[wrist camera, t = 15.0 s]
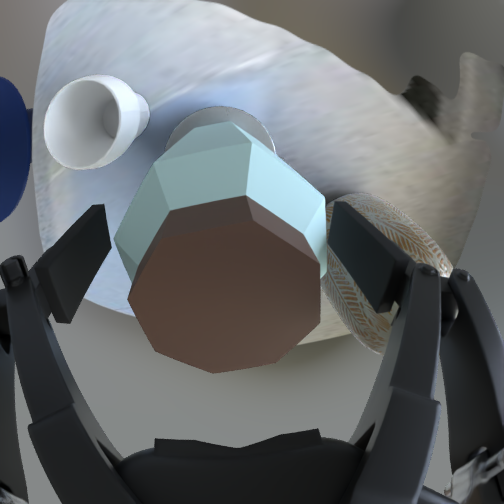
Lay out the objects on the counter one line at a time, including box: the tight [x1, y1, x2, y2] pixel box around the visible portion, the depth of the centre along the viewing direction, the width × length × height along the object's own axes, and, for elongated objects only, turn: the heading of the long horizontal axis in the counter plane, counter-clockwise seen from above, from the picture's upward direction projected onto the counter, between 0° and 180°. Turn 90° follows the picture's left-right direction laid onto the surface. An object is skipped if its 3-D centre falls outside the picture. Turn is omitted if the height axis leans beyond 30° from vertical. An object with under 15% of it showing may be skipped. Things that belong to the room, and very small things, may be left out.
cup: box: [43, 74, 150, 170], centre depth 27 cm, size 11×11×15 cm
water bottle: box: [114, 121, 327, 373], centre depth 20 cm, size 10×10×25 cm
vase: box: [320, 193, 453, 355], centre depth 36 cm, size 17×17×27 cm
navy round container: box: [164, 106, 275, 153], centre depth 34 cm, size 13×13×9 cm
